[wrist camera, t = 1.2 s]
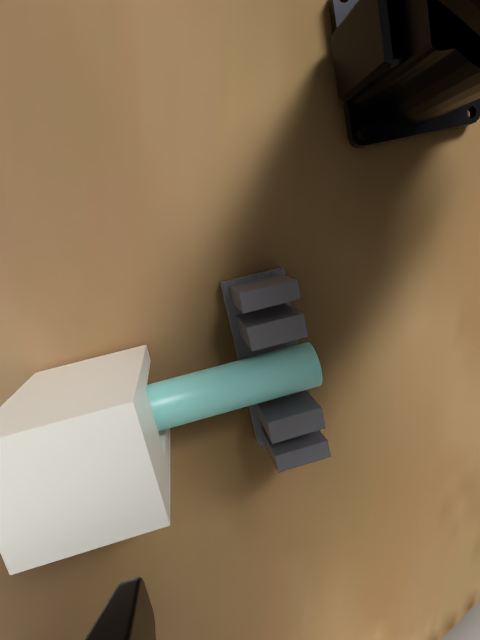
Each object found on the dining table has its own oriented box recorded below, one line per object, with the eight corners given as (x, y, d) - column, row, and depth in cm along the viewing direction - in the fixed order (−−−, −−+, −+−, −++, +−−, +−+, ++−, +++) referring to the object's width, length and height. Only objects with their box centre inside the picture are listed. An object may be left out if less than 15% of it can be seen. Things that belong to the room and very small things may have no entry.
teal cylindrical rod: (287, 307, 20) (321, 325, 15) (304, 389, 21) (339, 428, 16) (-273, 449, 17) (-431, 523, 12) (-223, 536, 18) (-352, 634, 13)
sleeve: (146, 344, 18) (132, 401, 12) (170, 429, 19) (170, 525, 13) (35, 372, 18) (-44, 449, 11) (66, 458, 19) (9, 575, 12)
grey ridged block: (280, 267, 19) (304, 272, 16) (310, 423, 21) (337, 458, 18) (219, 281, 19) (230, 290, 15) (256, 439, 21) (272, 478, 17)
